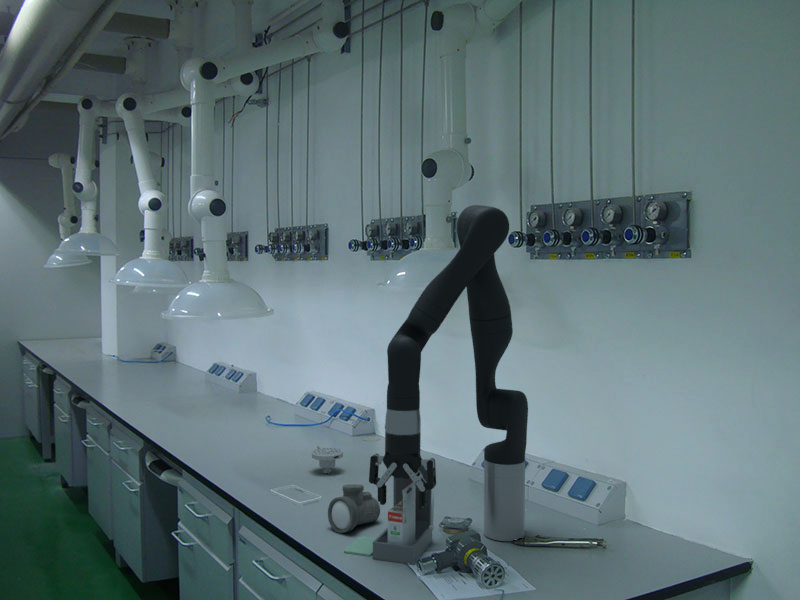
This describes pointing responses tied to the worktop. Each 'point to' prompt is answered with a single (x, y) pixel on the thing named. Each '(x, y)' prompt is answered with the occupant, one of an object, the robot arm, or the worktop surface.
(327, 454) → the showerhead
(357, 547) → the mat
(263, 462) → the worktop surface
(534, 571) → the worktop surface
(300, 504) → the phone case
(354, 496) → the pipe fitting
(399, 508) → the ink box
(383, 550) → the case
